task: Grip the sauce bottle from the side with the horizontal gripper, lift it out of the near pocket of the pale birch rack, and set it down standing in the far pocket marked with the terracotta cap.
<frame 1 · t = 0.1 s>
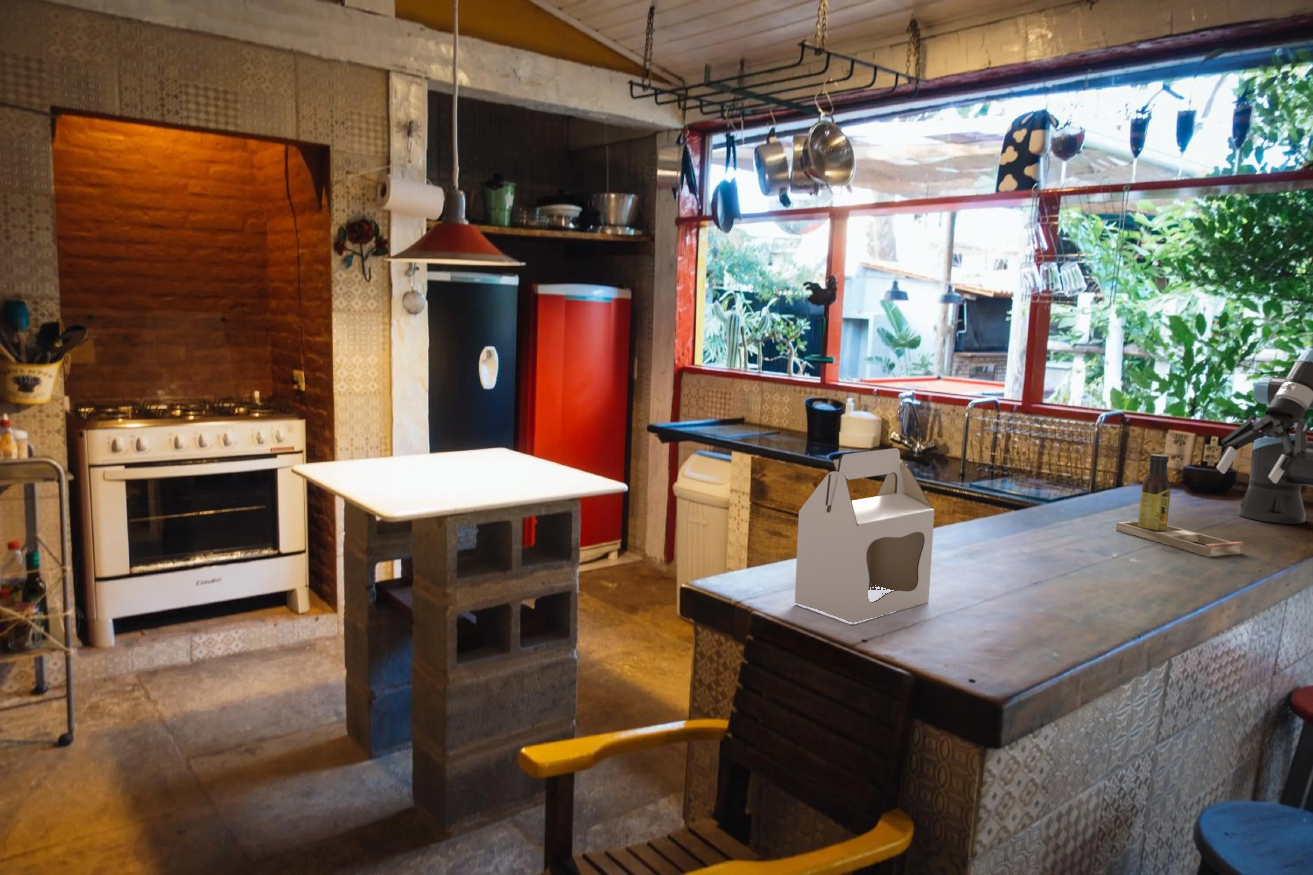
hand: (1245, 475, 221), 15 cm above the countertop, tool tilted 35°, fingers open, 13 cm apart
sauce bottle: (1151, 535, 222), resting in bottle rack
gable box: (862, 605, 163), on the countertop
bottle rack: (1176, 541, 216), on the countertop
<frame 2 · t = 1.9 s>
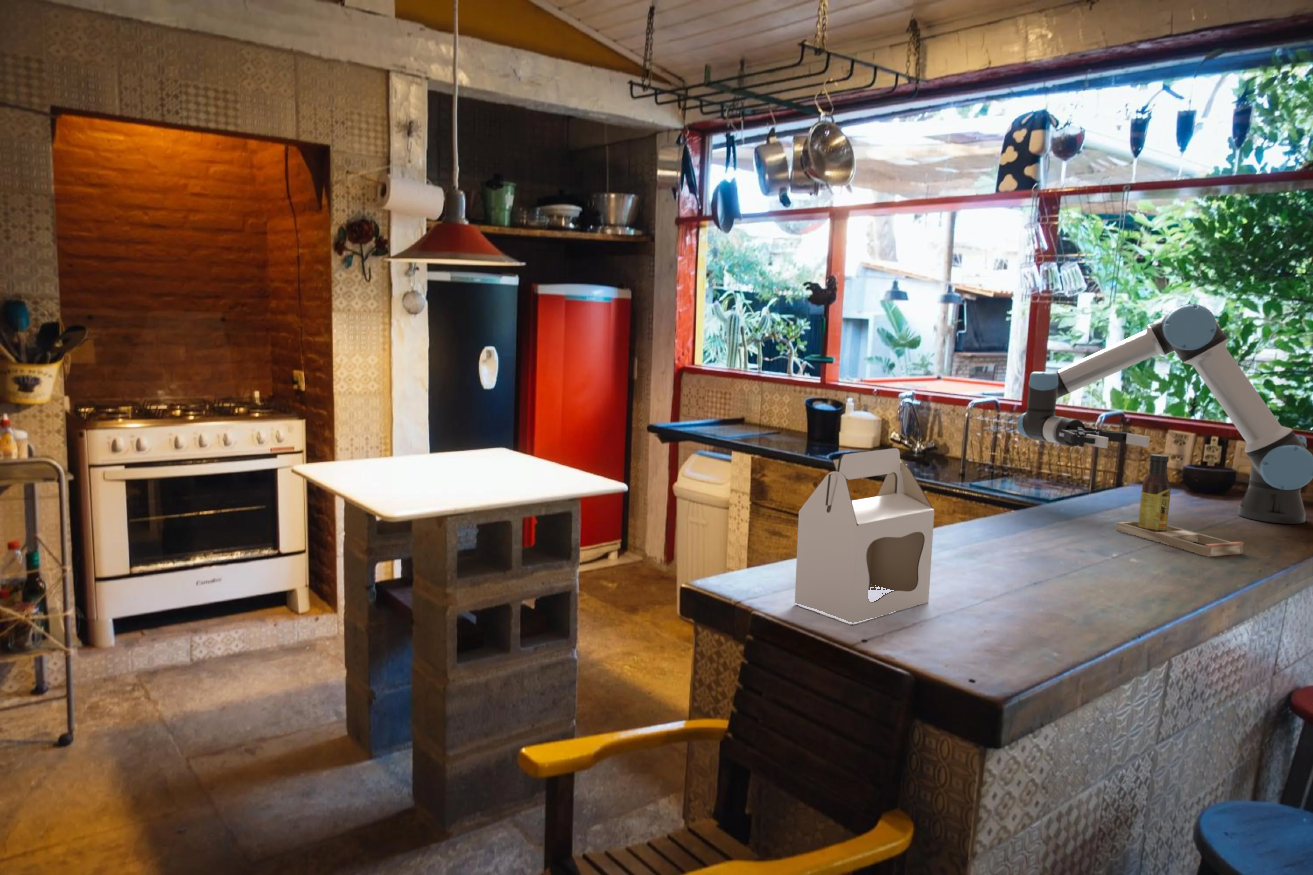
hand: (1127, 442, 228), 22 cm above the countertop, tool horizontal, fingers open, 13 cm apart
nothing on the countertop moved.
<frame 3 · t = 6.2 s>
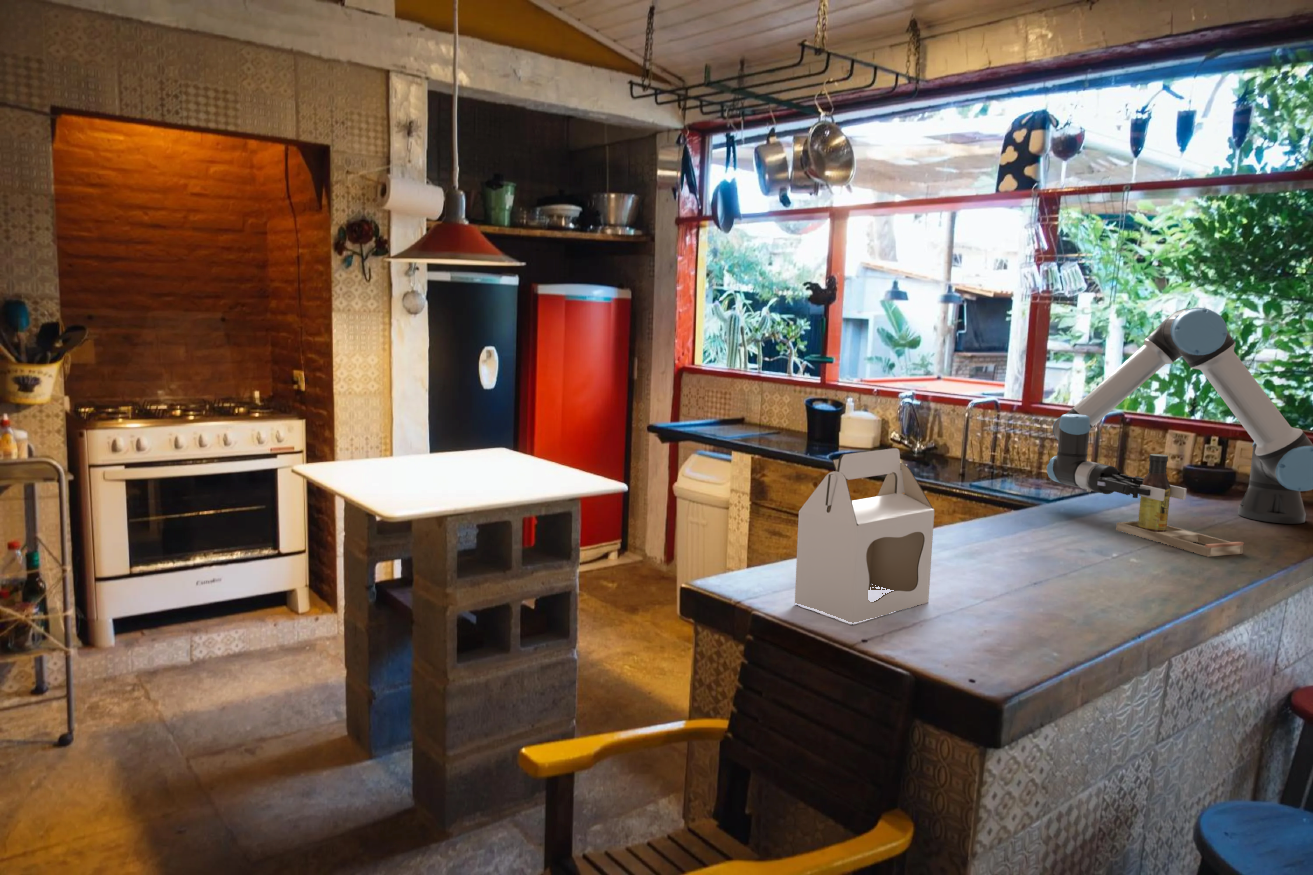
hand: (1174, 494, 216), 11 cm above the countertop, tool horizontal, fingers closed on sauce bottle, 6 cm apart
sauce bottle: (1151, 535, 222), resting in bottle rack, touching gripper
everything else where it was.
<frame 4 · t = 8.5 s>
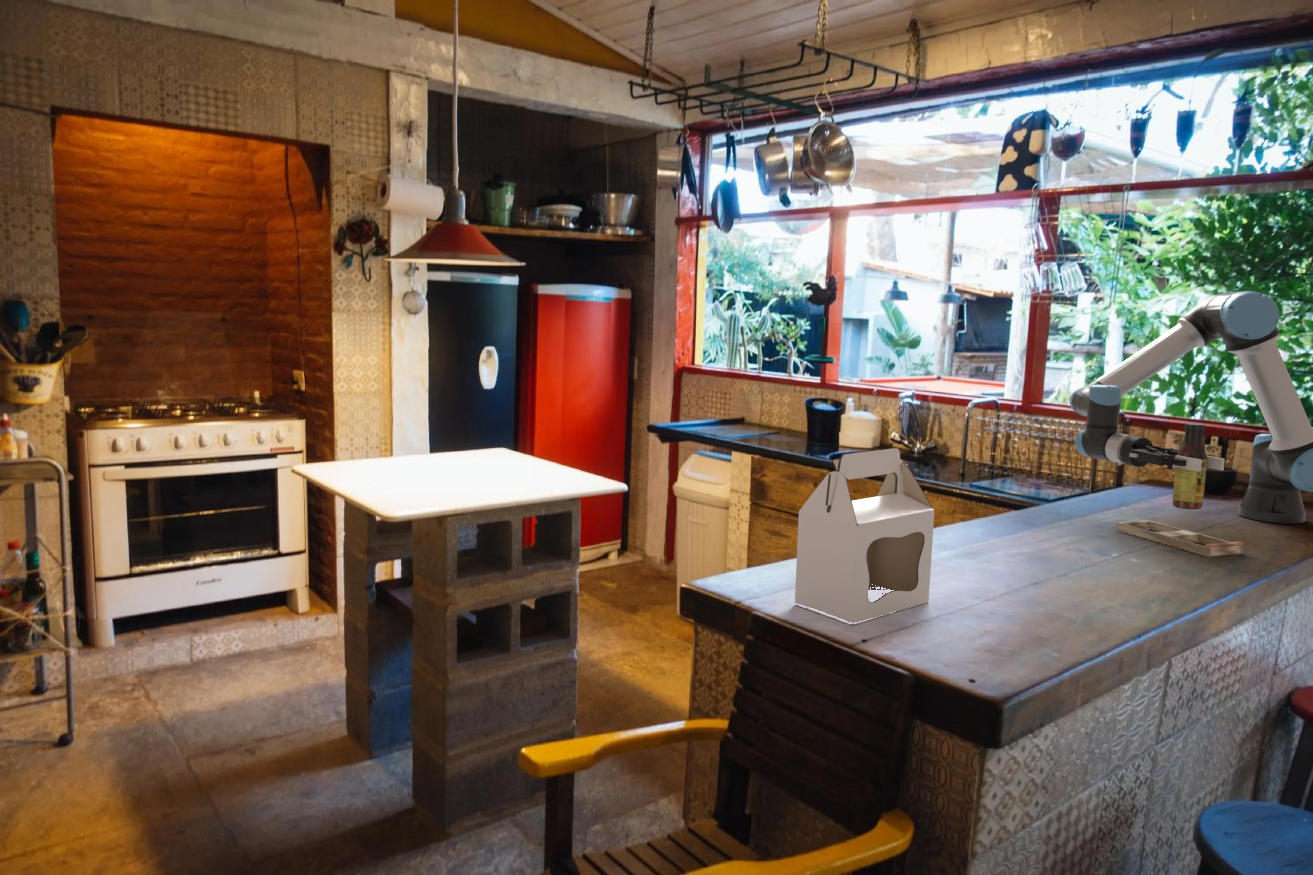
hand: (1211, 465, 206), 20 cm above the countertop, tool horizontal, fingers closed on sauce bottle, 6 cm apart
sauce bottle: (1186, 508, 212), point 9 cm above the countertop, touching gripper
everything else where it was.
when the fingers open (12 cm above the countertop, at t = 11.1 s): sauce bottle drops 1 cm, resting in bottle rack.
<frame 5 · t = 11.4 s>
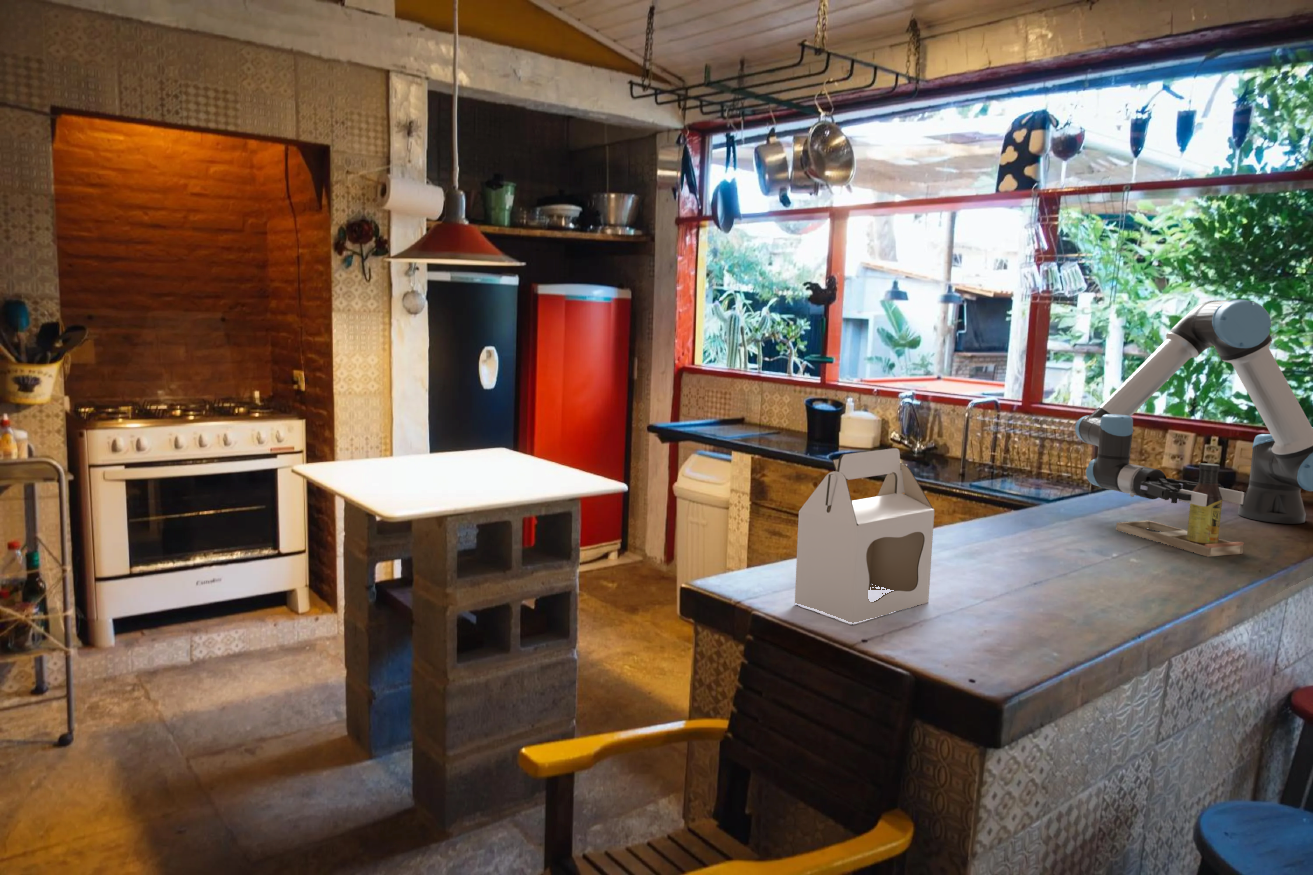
hand: (1224, 499, 204), 12 cm above the countertop, tool horizontal, fingers open, 10 cm apart
sauce bottle: (1201, 549, 209), resting in bottle rack
everything else where it was.
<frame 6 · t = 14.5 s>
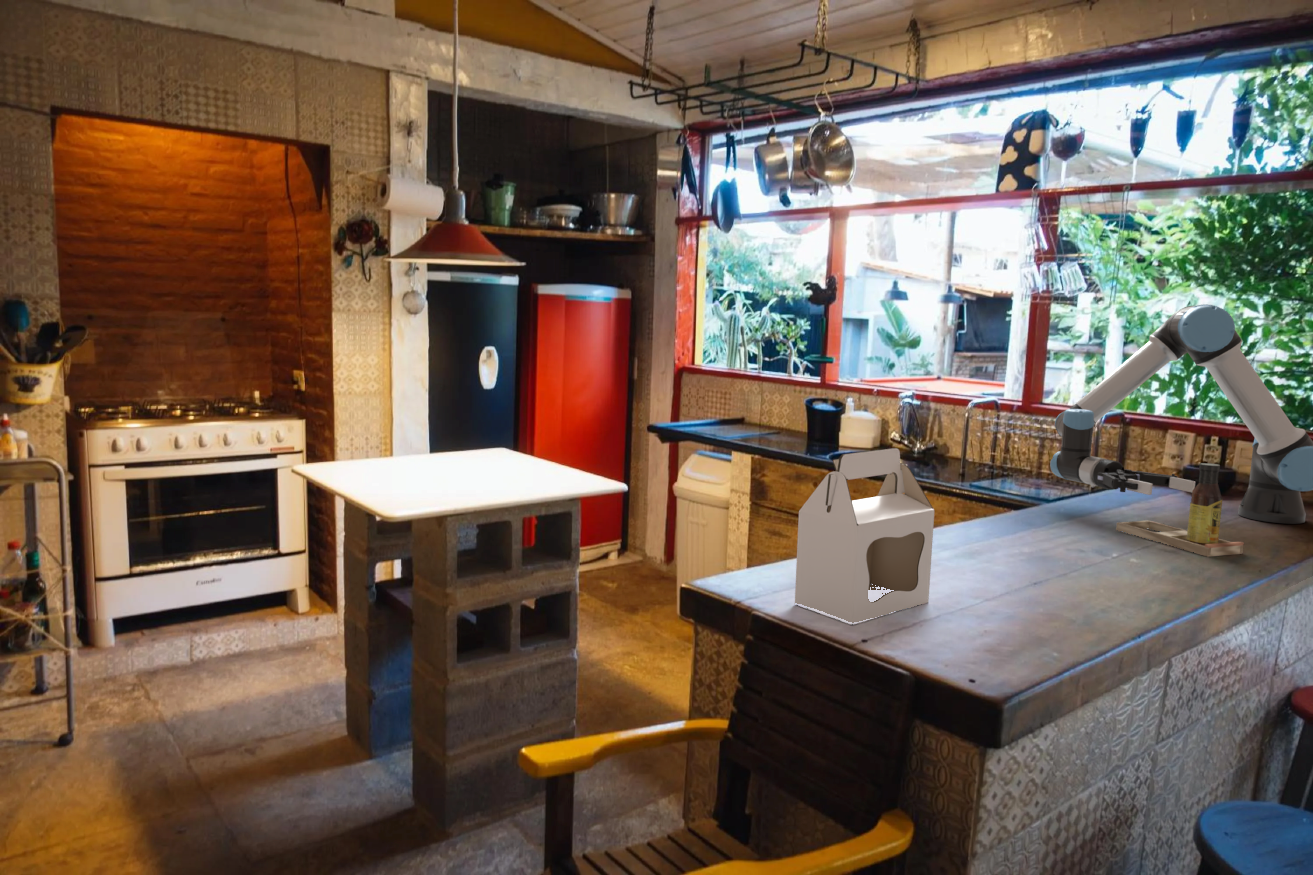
hand: (1172, 488, 216), 13 cm above the countertop, tool horizontal, fingers open, 13 cm apart
nothing on the countertop moved.
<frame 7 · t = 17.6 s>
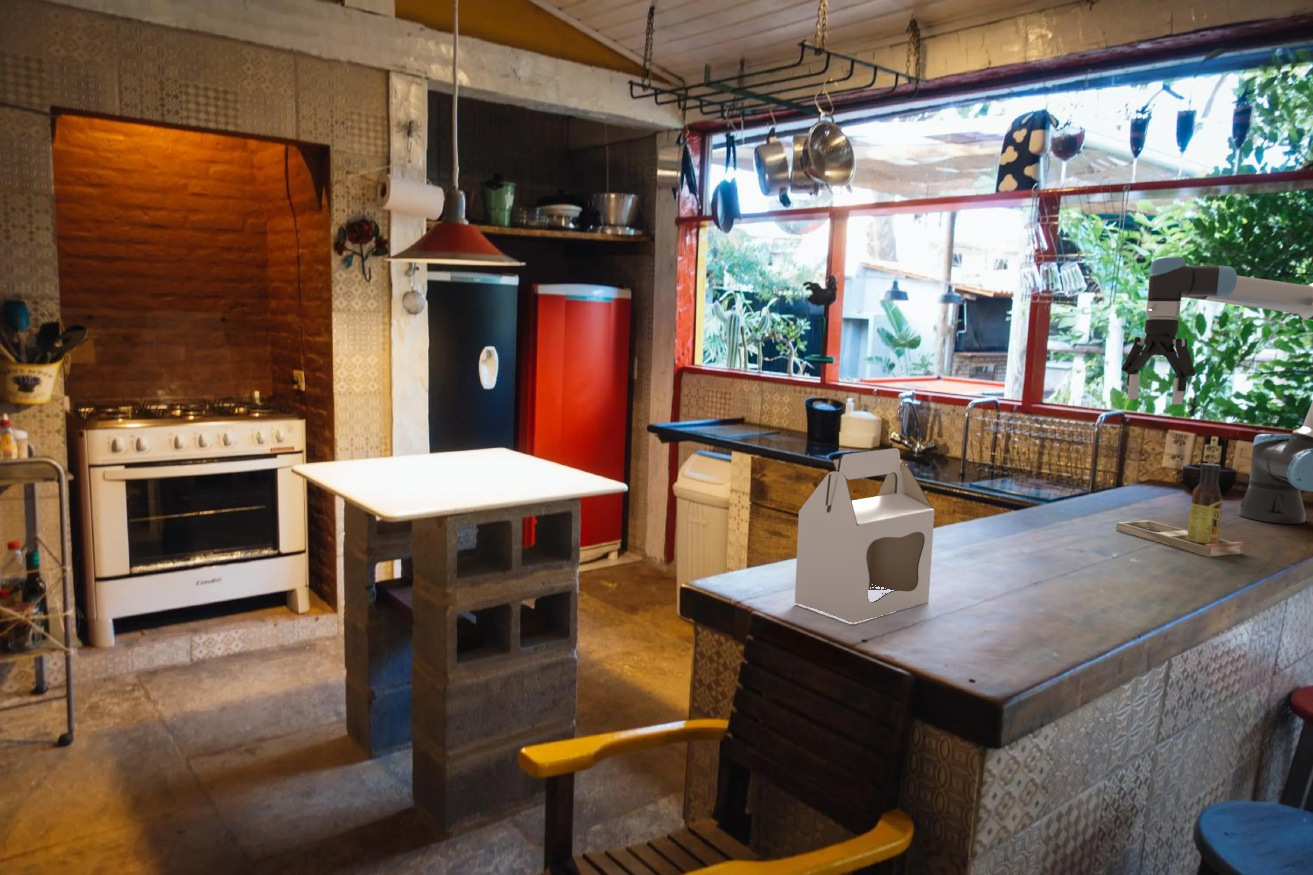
hand: (1154, 401, 233), 32 cm above the countertop, tool pointing down, fingers open, 13 cm apart
nothing on the countertop moved.
at the end: sauce bottle 0.1 cm from the target spot on the bottle rack, point 0.0 cm above the bottle rack's base; sauce bottle tilted 0°; the gripper is holding nothing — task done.
